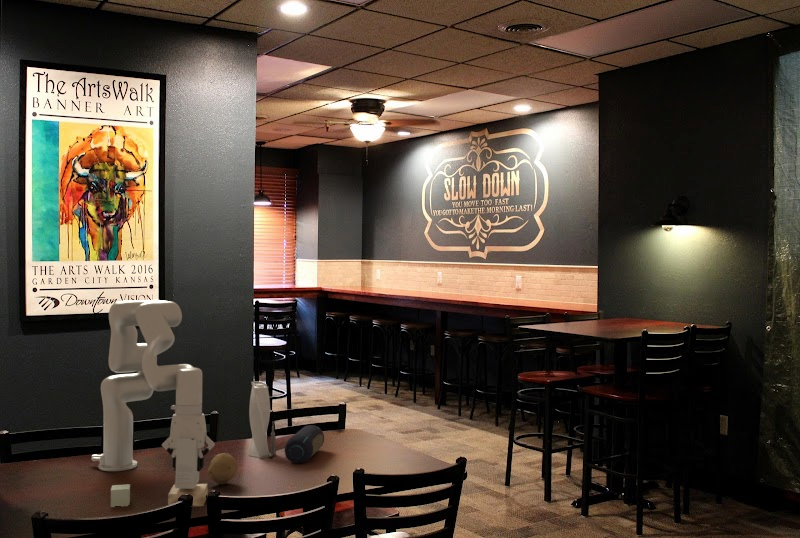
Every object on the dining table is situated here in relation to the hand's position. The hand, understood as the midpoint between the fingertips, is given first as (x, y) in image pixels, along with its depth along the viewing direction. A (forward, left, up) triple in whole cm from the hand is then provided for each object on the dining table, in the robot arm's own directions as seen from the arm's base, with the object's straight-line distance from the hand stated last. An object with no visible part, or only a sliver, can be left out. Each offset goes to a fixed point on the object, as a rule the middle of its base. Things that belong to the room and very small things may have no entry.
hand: (188, 469), depth 233 cm
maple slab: (0, 0, -10) cm, 10 cm away
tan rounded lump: (+7, +17, -10) cm, 21 cm away
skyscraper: (+13, +54, -10) cm, 56 cm away
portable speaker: (+30, +52, -10) cm, 61 cm away
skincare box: (0, 0, -5) cm, 5 cm away
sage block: (-19, -3, -9) cm, 21 cm away
